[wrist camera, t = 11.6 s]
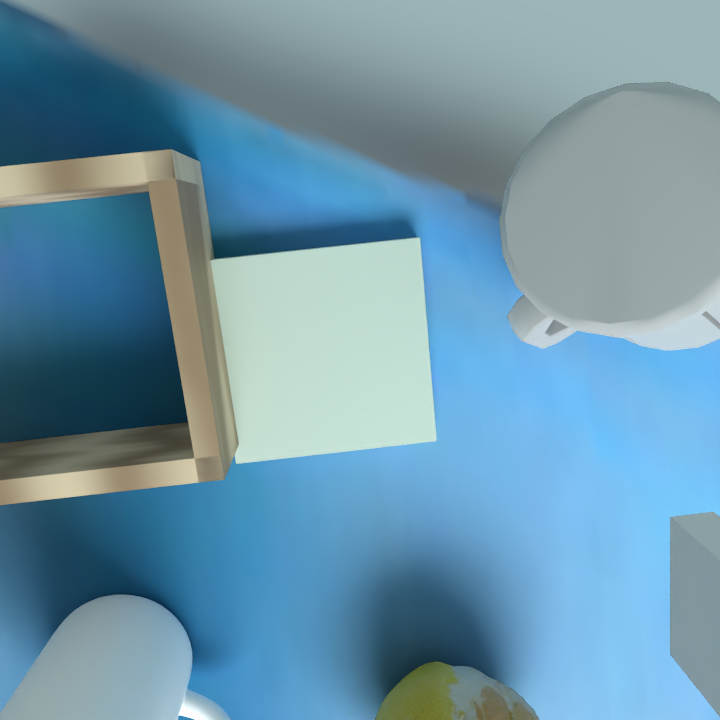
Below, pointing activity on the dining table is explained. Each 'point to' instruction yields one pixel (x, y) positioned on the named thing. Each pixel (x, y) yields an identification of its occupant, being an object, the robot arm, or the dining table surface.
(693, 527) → the robot arm
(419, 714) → the fruit
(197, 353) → the caddy
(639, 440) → the dining table surface
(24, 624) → the dining table surface
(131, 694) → the cup
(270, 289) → the mat
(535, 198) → the cup
